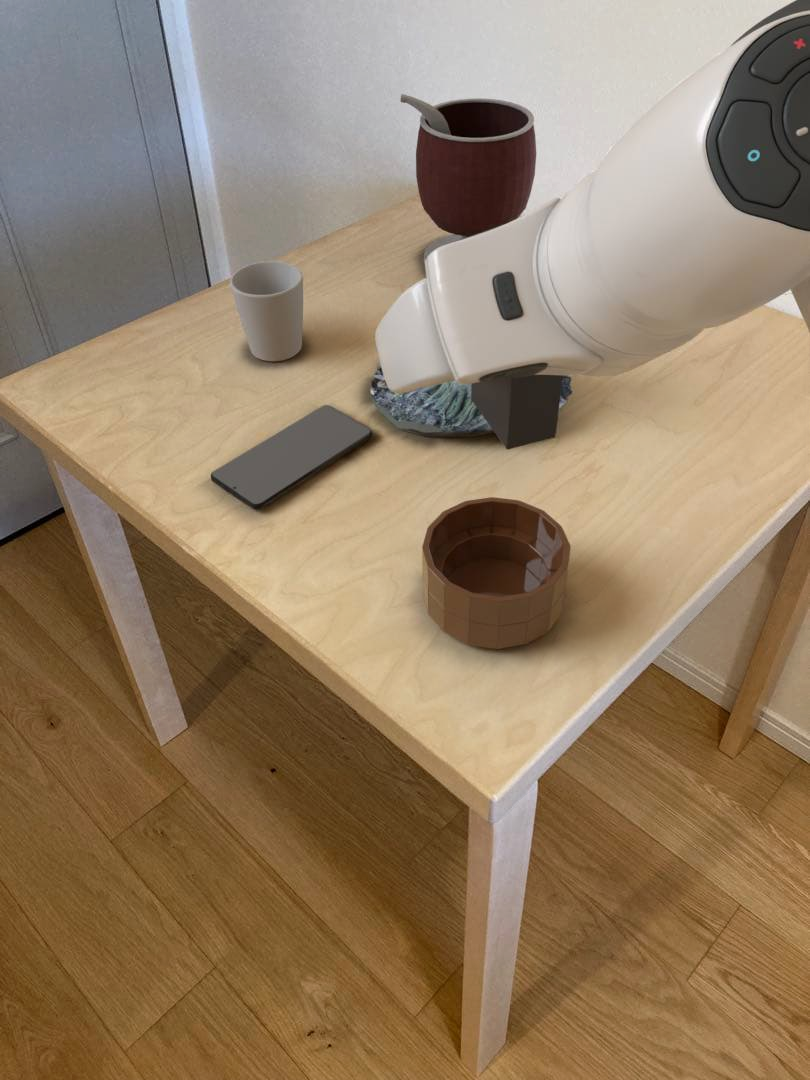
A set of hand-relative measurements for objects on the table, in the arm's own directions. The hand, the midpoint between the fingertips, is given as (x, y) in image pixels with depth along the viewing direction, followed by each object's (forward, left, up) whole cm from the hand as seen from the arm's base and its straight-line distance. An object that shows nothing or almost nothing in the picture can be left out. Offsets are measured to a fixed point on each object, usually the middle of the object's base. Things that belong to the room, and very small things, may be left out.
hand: (512, 351), depth 57 cm
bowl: (+1, +1, -22) cm, 22 cm away
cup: (+15, -41, -22) cm, 49 cm away
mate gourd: (-10, -55, -22) cm, 60 cm away
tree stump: (-4, -27, -22) cm, 35 cm away
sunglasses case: (0, +1, -5) cm, 5 cm away
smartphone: (+15, -20, -22) cm, 33 cm away
